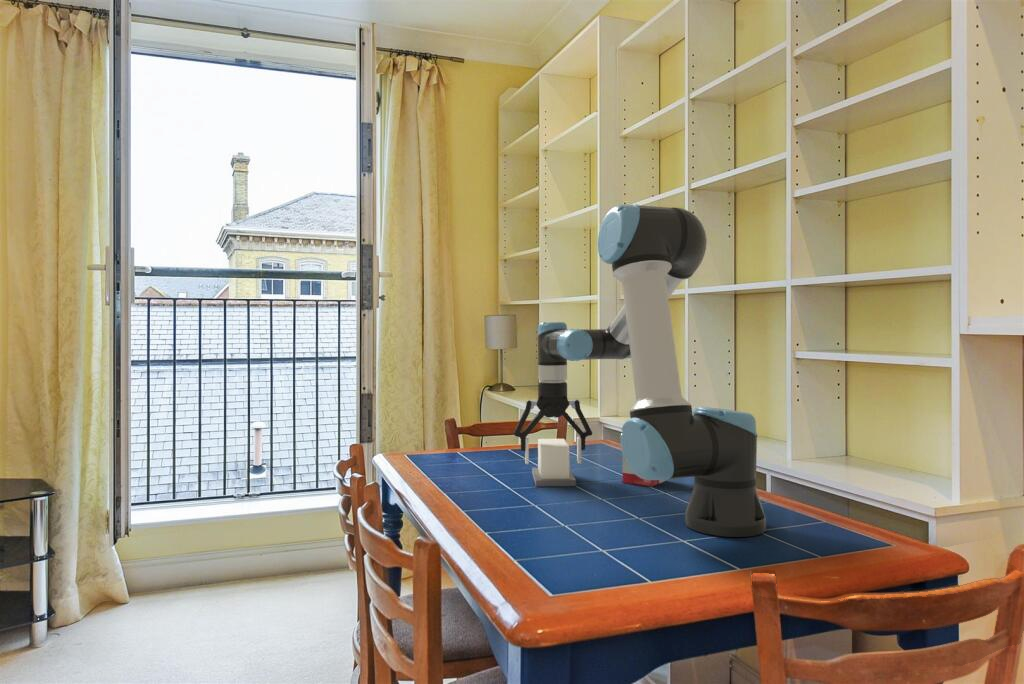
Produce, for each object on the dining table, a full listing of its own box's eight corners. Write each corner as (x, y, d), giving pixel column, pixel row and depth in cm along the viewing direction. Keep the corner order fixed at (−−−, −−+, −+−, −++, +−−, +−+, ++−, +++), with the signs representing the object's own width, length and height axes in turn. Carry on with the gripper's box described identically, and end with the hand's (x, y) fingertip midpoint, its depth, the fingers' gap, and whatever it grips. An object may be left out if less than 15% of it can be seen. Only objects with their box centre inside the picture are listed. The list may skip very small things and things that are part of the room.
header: (576, 486, 169) (575, 461, 169) (535, 486, 169) (535, 462, 168) (568, 472, 185) (568, 450, 185) (532, 473, 185) (532, 451, 184)
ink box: (652, 487, 167) (652, 439, 167) (621, 482, 172) (621, 436, 172) (667, 481, 174) (667, 434, 174) (636, 476, 179) (636, 432, 179)
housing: (569, 478, 170) (569, 446, 170) (541, 479, 170) (541, 447, 170) (564, 468, 183) (563, 438, 183) (538, 468, 183) (538, 438, 183)
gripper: (598, 380, 180) (598, 459, 181) (504, 380, 180) (504, 460, 180) (602, 382, 173) (603, 465, 173) (504, 382, 172) (505, 466, 173)
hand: (553, 463), depth 177 cm, fingers open, 13 cm apart
